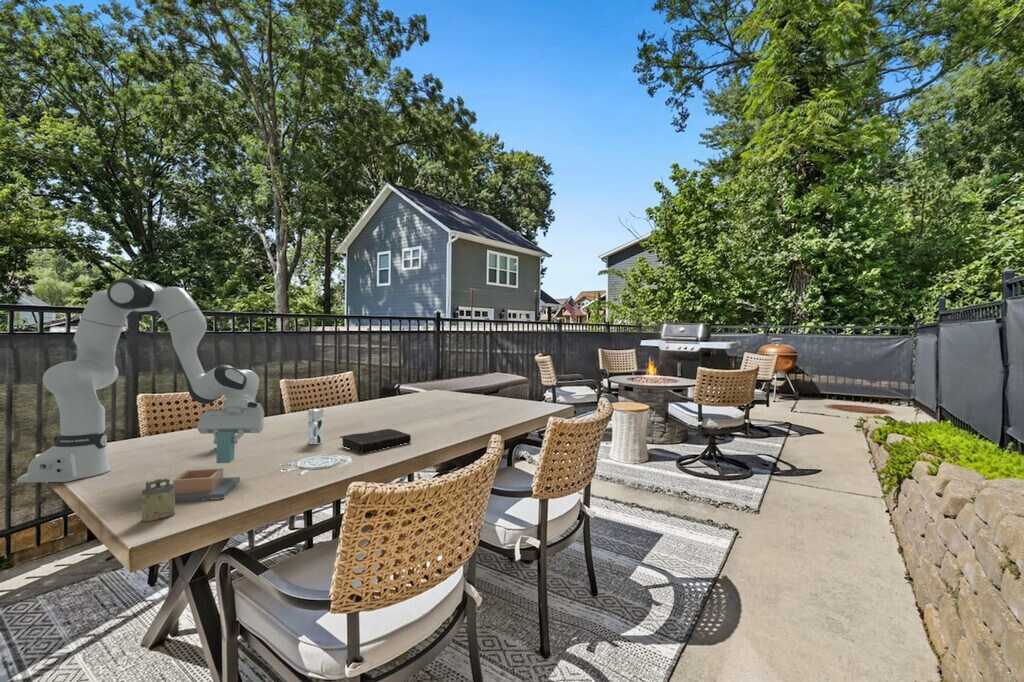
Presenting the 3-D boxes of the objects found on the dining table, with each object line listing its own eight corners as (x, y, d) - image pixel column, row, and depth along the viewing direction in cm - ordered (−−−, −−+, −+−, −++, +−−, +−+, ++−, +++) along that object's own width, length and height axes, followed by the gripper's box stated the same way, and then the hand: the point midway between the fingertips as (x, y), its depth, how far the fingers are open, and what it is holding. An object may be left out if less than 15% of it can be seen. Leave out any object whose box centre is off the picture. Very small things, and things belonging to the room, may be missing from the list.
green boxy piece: (173, 511, 122) (173, 475, 122) (177, 515, 120) (177, 478, 119) (139, 519, 117) (140, 482, 116) (143, 523, 114) (143, 485, 114)
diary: (411, 445, 202) (411, 434, 202) (362, 456, 183) (362, 444, 183) (386, 437, 214) (386, 427, 214) (338, 447, 194) (338, 436, 194)
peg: (216, 463, 150) (216, 433, 150) (221, 459, 154) (222, 431, 154) (229, 462, 151) (230, 433, 151) (234, 459, 155) (234, 431, 154)
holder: (152, 504, 127) (152, 485, 127) (176, 485, 142) (176, 468, 142) (223, 498, 132) (224, 480, 132) (239, 481, 147) (240, 464, 147)
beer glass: (317, 445, 195) (317, 411, 195) (303, 444, 197) (303, 410, 196) (326, 441, 202) (327, 409, 202) (313, 440, 203) (313, 408, 203)
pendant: (367, 462, 173) (367, 459, 173) (293, 480, 152) (293, 476, 152) (339, 452, 187) (339, 449, 187) (268, 466, 165) (268, 463, 165)
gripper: (202, 404, 157) (187, 438, 147) (265, 404, 161) (255, 437, 151) (207, 414, 161) (193, 448, 152) (269, 414, 165) (259, 446, 156)
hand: (225, 442), depth 152 cm, fingers closed on peg, 4 cm apart
